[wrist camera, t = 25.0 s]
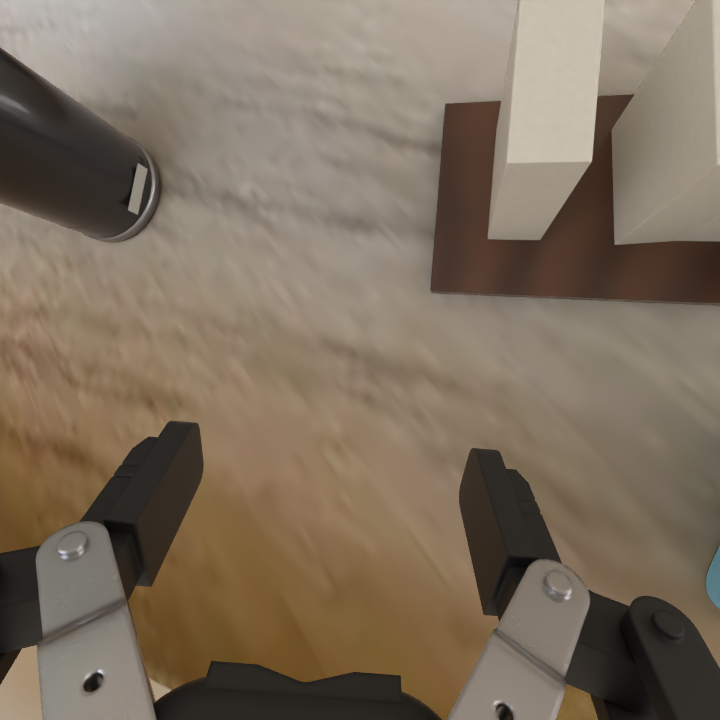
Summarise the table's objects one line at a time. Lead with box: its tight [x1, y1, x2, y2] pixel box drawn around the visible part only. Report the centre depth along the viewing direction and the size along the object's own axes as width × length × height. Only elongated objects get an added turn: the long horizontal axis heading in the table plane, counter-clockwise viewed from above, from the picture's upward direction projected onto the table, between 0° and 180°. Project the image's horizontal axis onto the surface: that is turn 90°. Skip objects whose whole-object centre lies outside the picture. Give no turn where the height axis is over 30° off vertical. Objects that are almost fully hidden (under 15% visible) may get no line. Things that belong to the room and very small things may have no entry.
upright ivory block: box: [488, 0, 605, 240], centre depth 25 cm, size 4×8×12 cm, turn 175°
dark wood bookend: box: [431, 94, 720, 306], centre depth 24 cm, size 25×14×14 cm, turn 86°
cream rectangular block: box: [612, 0, 720, 245], centre depth 23 cm, size 4×8×12 cm, turn 1°
